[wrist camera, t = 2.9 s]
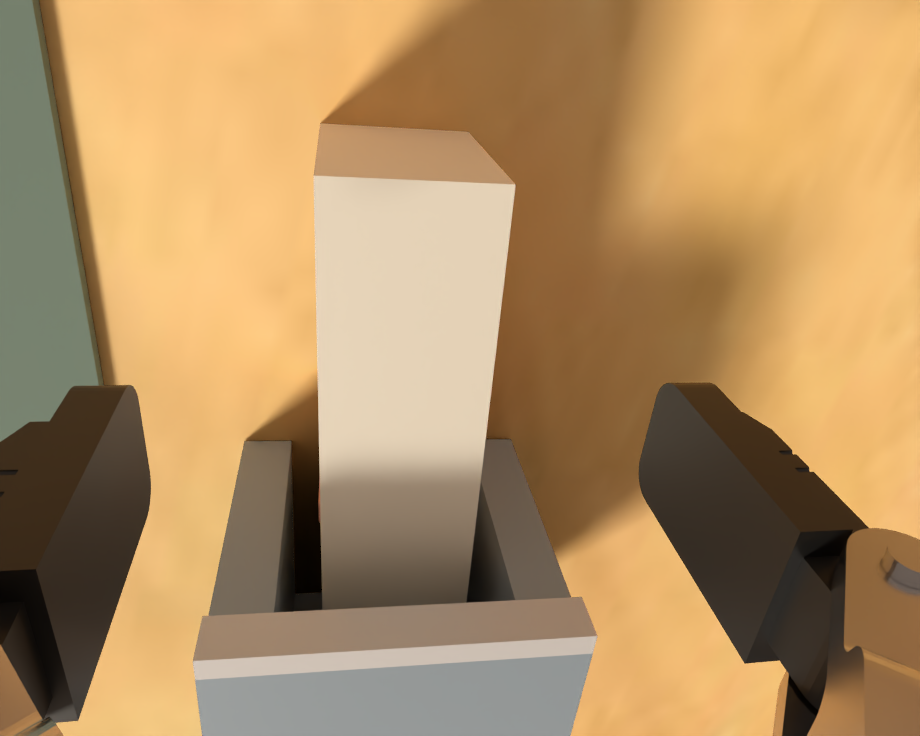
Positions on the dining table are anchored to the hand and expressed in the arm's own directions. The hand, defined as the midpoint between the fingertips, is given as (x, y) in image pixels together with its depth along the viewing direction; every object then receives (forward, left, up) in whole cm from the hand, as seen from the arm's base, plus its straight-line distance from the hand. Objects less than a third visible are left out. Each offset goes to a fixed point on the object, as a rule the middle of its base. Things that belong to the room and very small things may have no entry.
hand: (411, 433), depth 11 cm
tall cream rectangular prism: (0, +3, -11) cm, 11 cm away
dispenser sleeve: (0, +11, -11) cm, 16 cm away
